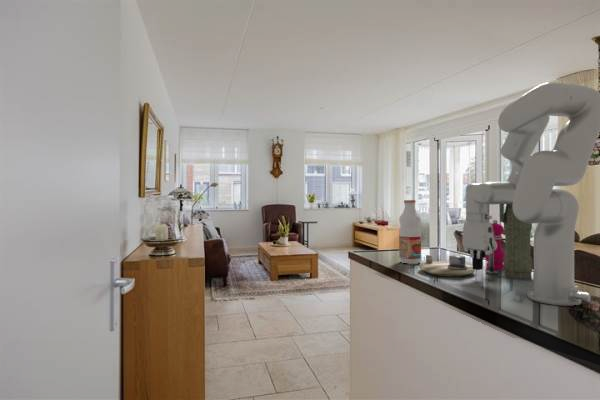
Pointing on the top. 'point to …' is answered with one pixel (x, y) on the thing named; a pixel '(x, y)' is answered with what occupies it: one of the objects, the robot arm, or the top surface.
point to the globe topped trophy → (492, 262)
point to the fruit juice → (410, 234)
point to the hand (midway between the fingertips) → (477, 269)
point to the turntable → (443, 267)
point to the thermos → (516, 245)
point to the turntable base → (446, 275)
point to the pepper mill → (498, 252)
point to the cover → (457, 262)
